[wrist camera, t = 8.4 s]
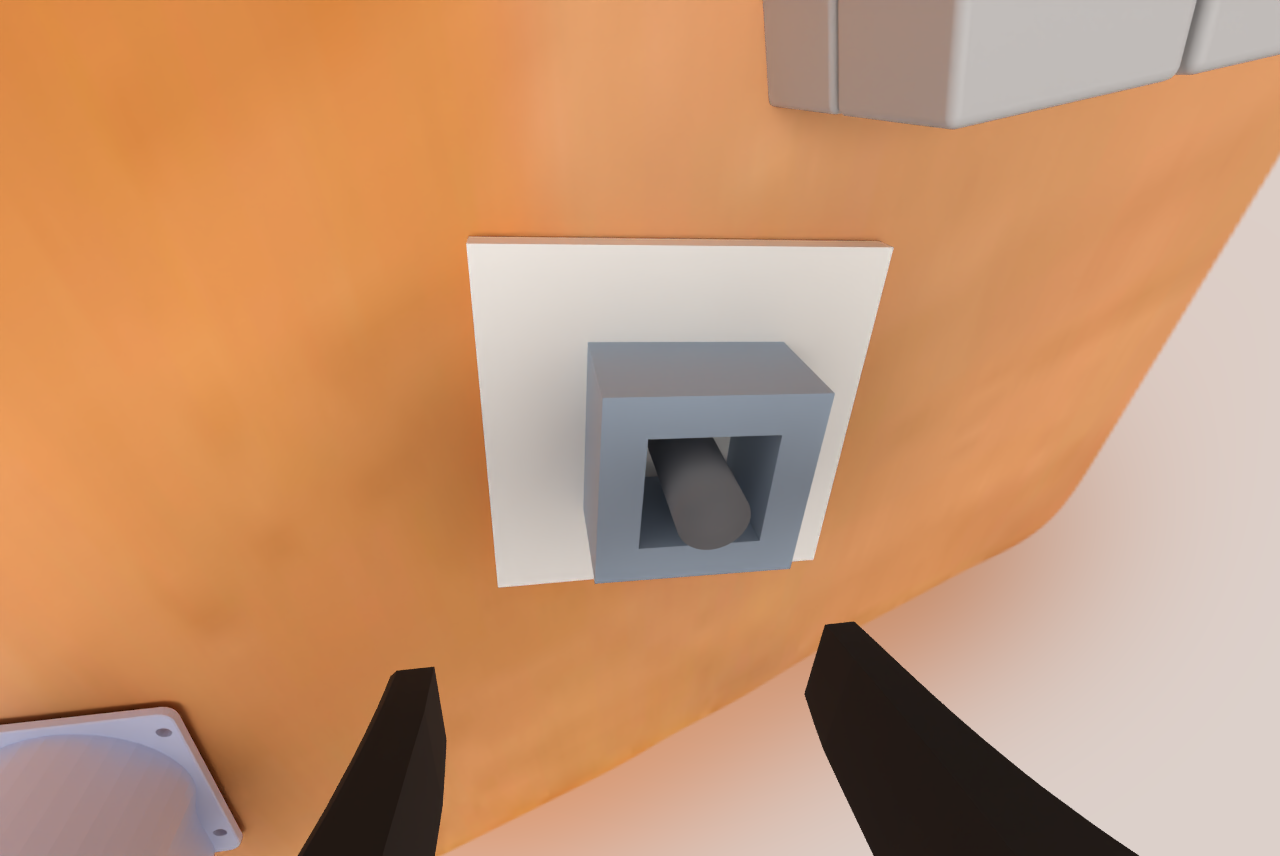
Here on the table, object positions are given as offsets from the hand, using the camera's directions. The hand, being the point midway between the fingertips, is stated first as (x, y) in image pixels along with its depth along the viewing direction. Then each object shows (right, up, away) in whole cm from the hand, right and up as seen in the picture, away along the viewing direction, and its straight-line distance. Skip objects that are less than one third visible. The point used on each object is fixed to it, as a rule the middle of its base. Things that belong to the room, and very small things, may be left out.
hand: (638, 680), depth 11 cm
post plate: (+1, +5, +9) cm, 10 cm away
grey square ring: (+1, +5, +8) cm, 9 cm away
